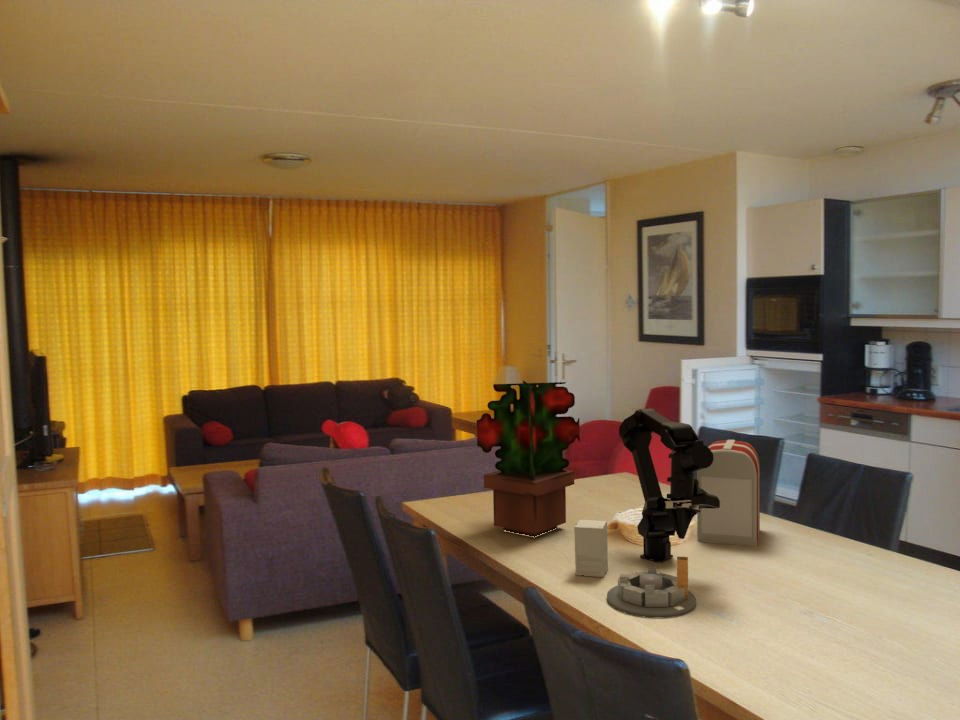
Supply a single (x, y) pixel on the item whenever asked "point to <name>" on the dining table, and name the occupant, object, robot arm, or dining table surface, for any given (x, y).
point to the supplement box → (591, 548)
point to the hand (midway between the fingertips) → (681, 538)
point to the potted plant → (529, 455)
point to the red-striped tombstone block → (731, 495)
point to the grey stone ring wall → (671, 587)
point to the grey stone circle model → (637, 610)
